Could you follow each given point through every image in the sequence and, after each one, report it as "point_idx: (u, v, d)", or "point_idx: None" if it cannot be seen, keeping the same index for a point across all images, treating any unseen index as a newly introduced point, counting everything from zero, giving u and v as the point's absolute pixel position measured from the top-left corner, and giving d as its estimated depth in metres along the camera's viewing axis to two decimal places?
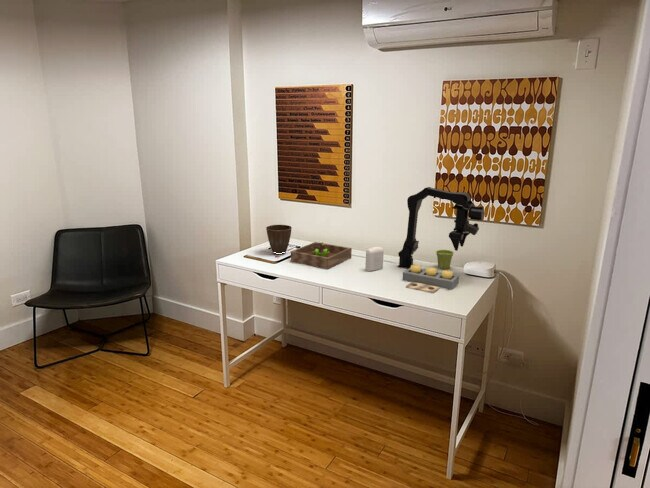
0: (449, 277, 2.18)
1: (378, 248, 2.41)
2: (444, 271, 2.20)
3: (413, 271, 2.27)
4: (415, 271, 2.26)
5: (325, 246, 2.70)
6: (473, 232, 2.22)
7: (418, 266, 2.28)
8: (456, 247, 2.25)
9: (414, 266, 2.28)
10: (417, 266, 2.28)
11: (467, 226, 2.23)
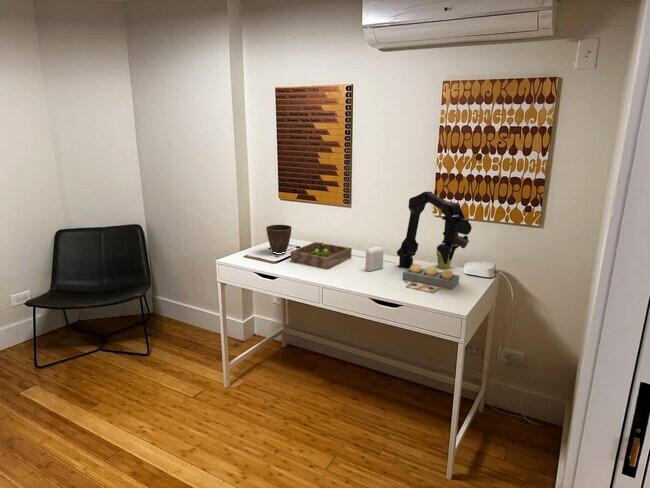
0: (449, 277, 2.18)
1: (378, 248, 2.41)
2: (444, 271, 2.20)
3: (413, 271, 2.27)
4: (415, 271, 2.26)
5: (325, 246, 2.70)
6: (462, 245, 2.10)
7: (418, 266, 2.28)
8: (445, 260, 2.15)
9: (414, 266, 2.28)
10: (417, 266, 2.28)
11: (456, 239, 2.12)
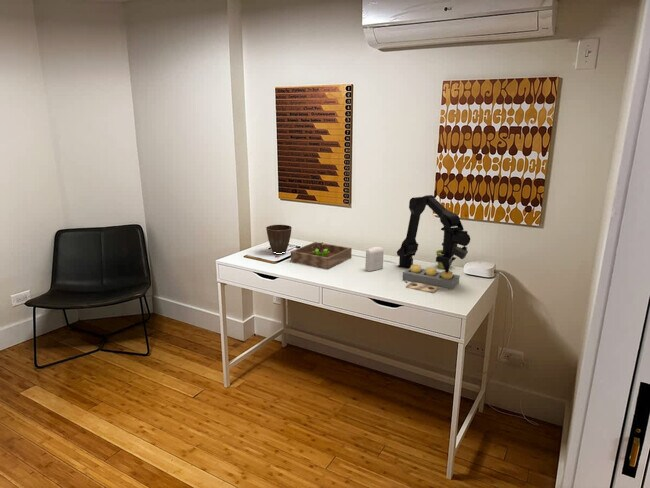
0: (449, 278, 2.18)
1: (378, 248, 2.41)
2: (444, 272, 2.20)
3: (413, 271, 2.27)
4: (415, 271, 2.26)
5: (325, 246, 2.70)
6: (461, 256, 2.12)
7: (418, 266, 2.28)
8: (447, 269, 2.19)
9: (414, 266, 2.28)
10: (417, 266, 2.28)
11: (455, 250, 2.13)
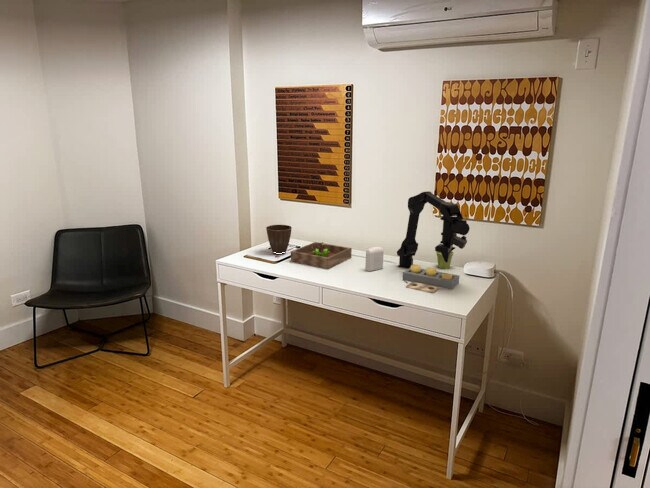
0: None
1: (378, 248, 2.41)
2: (444, 274, 2.21)
3: (413, 271, 2.27)
4: (415, 271, 2.26)
5: (325, 246, 2.70)
6: (461, 245, 2.11)
7: (418, 266, 2.28)
8: (446, 259, 2.18)
9: (414, 266, 2.28)
10: (417, 266, 2.28)
11: (454, 239, 2.12)
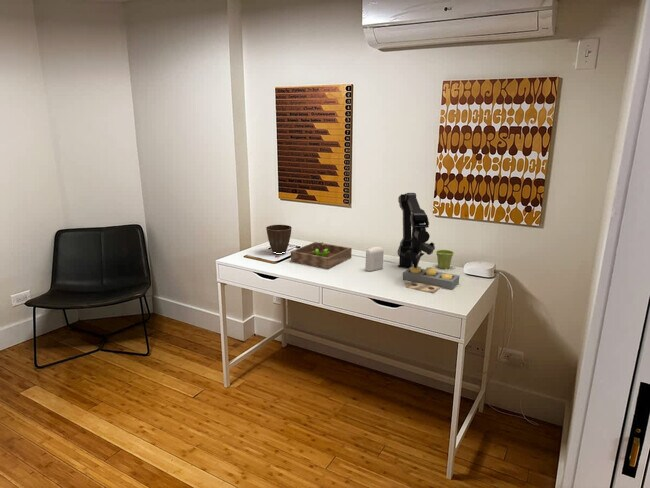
0: None
1: (378, 248, 2.41)
2: (444, 274, 2.21)
3: (413, 272, 2.27)
4: None
5: (325, 246, 2.70)
6: (428, 252, 2.20)
7: (418, 267, 2.28)
8: (415, 264, 2.27)
9: (414, 267, 2.28)
10: (417, 267, 2.28)
11: (422, 246, 2.21)
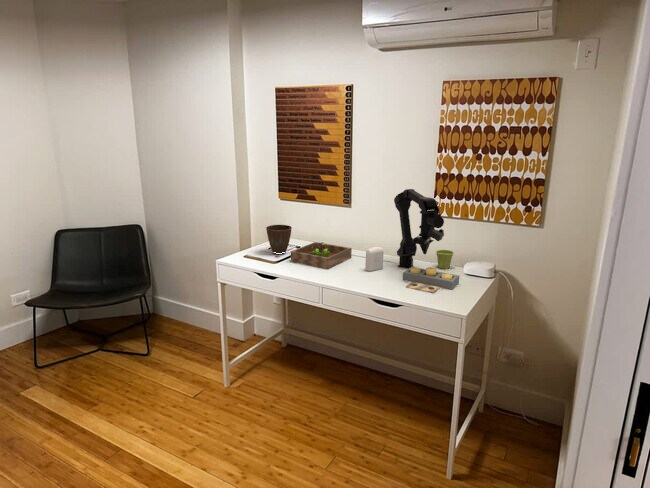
0: None
1: (378, 248, 2.41)
2: (444, 274, 2.21)
3: None
4: None
5: (325, 246, 2.70)
6: (437, 238, 2.21)
7: (418, 269, 2.28)
8: (424, 251, 2.28)
9: (414, 269, 2.28)
10: (417, 269, 2.28)
11: (431, 232, 2.22)
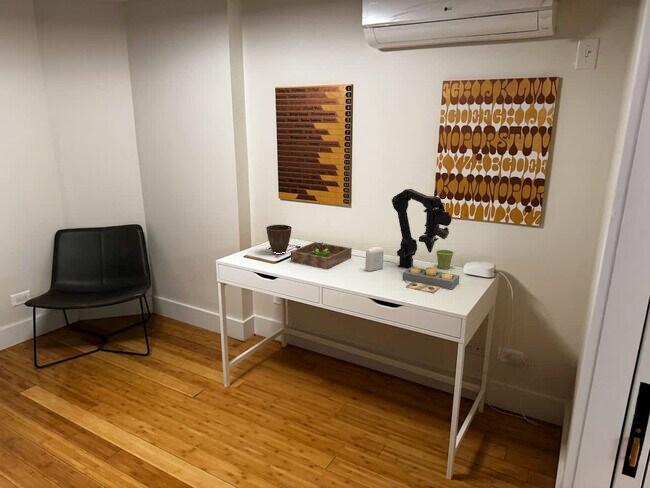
0: None
1: (378, 248, 2.41)
2: (444, 274, 2.21)
3: None
4: None
5: (325, 246, 2.70)
6: (443, 236, 2.23)
7: (418, 269, 2.28)
8: (429, 249, 2.30)
9: (414, 269, 2.28)
10: (417, 269, 2.28)
11: (437, 230, 2.24)
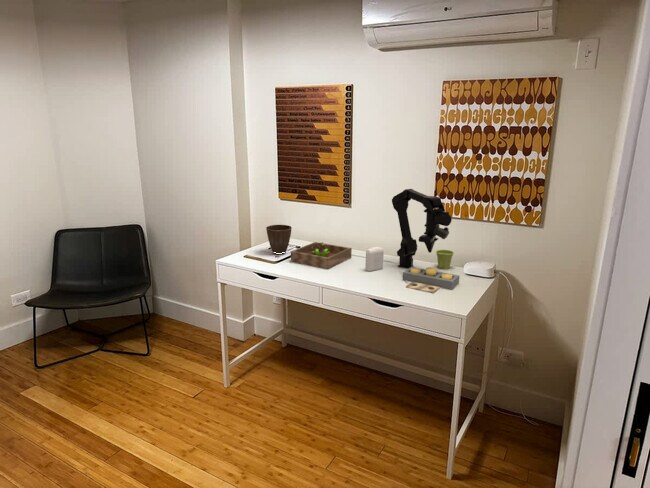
0: None
1: (378, 248, 2.41)
2: (444, 274, 2.21)
3: None
4: None
5: (325, 246, 2.70)
6: (443, 236, 2.23)
7: (418, 269, 2.28)
8: (429, 249, 2.30)
9: (414, 269, 2.28)
10: (417, 269, 2.28)
11: (437, 230, 2.24)
